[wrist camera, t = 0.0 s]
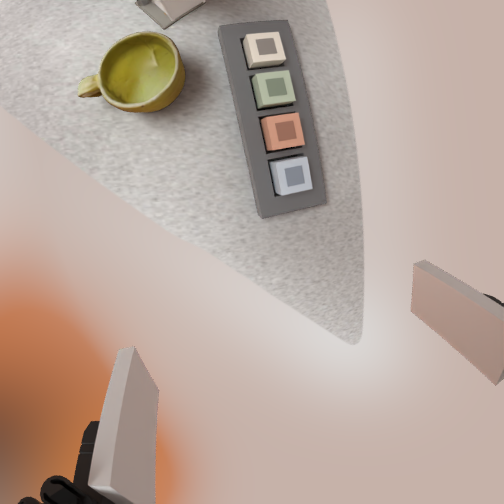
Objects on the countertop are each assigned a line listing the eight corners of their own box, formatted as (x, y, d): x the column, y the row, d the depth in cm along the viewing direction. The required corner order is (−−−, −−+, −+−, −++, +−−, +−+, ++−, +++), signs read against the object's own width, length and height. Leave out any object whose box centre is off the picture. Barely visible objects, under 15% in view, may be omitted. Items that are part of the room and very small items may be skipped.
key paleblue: (269, 162, 35) (275, 162, 33) (298, 156, 36) (307, 156, 33) (275, 192, 37) (282, 195, 34) (304, 186, 37) (312, 188, 34)
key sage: (251, 79, 31) (256, 73, 29) (281, 76, 32) (289, 69, 29) (257, 108, 33) (263, 104, 30) (288, 104, 33) (296, 100, 30)
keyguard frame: (217, 33, 30) (219, 25, 27) (282, 26, 31) (287, 19, 28) (258, 214, 39) (262, 218, 37) (319, 200, 40) (326, 203, 38)
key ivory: (242, 42, 30) (246, 34, 27) (272, 39, 30) (278, 31, 27) (248, 69, 31) (253, 62, 28) (279, 65, 31) (286, 59, 28)
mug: (198, 34, 28) (176, 25, 20) (193, 108, 34) (171, 122, 26) (112, 42, 28) (71, 42, 20) (111, 110, 34) (72, 127, 26)
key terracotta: (260, 120, 33) (266, 117, 31) (290, 115, 34) (298, 112, 31) (266, 150, 35) (273, 150, 32) (296, 145, 35) (305, 144, 32)
